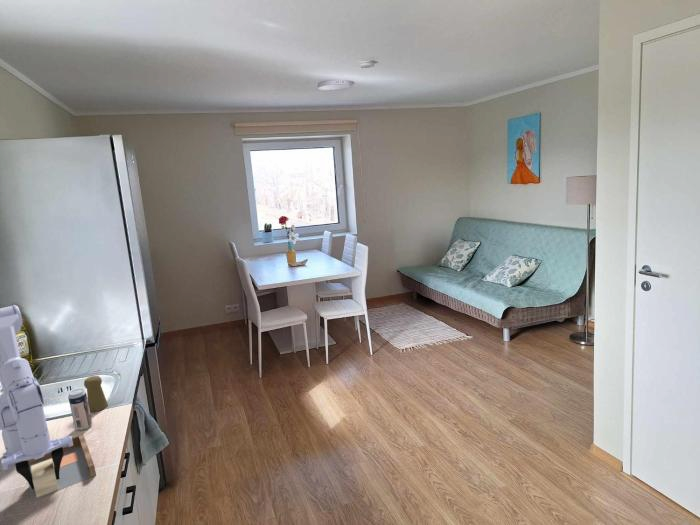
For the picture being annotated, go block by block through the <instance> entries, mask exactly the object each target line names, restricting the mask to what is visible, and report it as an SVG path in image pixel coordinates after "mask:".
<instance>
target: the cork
mask: <svg viewBox="0 0 700 525" xmlns="http://www.w3.org/2000/svg"><path fill="white" fill-rule="evenodd" d="M102 381H103V380H102V377H100V376H99V375H93V376H89V377H87V378H85V379H84V382H83V385H84V388H85V389H86V395H87V400H88V404H89V409H90V413H97V412H101V411H104V410H105V409H107V408H108V407H109V404H108V401H107V398H106V396H105V393H104V390H103V388H102V386H101V385H102V383H103V382H102Z"/></svg>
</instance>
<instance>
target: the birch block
mask: <svg viewBox="0 0 700 525" xmlns="http://www.w3.org/2000/svg"><path fill="white" fill-rule="evenodd" d="M31 471H32V479H33V484H34V489H35V493H36V497H37V498H38V497H40V496H43V495H45V494H48V493H50V492H53V491H55V490H58V484H57V480H56V475H55V470H54V466H53V461H52V458H51V459H49V460H46V461H43V462H40V463H38V464H35V465H32V466H31ZM58 491H59V490H58ZM53 493H54V492H53ZM48 495H49V494H48ZM43 497H44V496H43ZM38 499H39V498H38Z"/></svg>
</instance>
